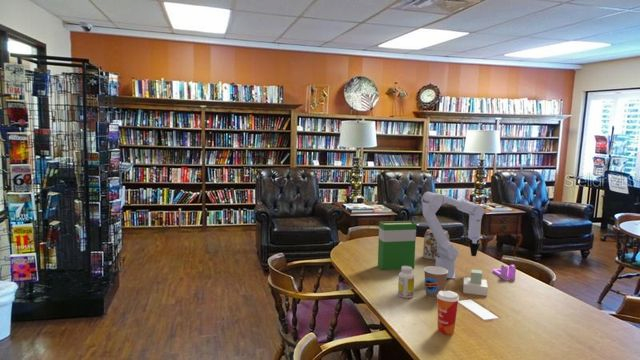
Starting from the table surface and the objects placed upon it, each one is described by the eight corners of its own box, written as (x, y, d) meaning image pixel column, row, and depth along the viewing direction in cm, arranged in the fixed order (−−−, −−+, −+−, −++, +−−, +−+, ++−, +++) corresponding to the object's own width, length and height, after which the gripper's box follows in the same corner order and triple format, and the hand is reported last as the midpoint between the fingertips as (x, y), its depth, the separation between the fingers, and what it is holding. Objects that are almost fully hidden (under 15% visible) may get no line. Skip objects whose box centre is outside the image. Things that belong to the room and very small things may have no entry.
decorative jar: (442, 262, 232) (444, 230, 230) (422, 258, 238) (424, 227, 236) (448, 256, 242) (450, 226, 240) (428, 253, 249) (430, 223, 246)
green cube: (470, 283, 189) (471, 272, 188) (470, 279, 193) (471, 269, 192) (481, 284, 187) (482, 273, 187) (480, 281, 192) (481, 270, 191)
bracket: (514, 279, 206) (515, 266, 206) (504, 280, 206) (505, 266, 205) (500, 271, 219) (501, 258, 218) (490, 271, 219) (491, 258, 218)
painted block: (463, 292, 188) (463, 284, 187) (463, 285, 197) (463, 277, 197) (487, 296, 184) (487, 287, 184) (486, 288, 194) (486, 279, 193)
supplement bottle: (414, 294, 185) (415, 266, 184) (412, 299, 179) (413, 270, 177) (399, 291, 187) (400, 264, 186) (396, 297, 181) (398, 268, 180)
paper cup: (431, 326, 155) (433, 289, 153) (452, 325, 155) (454, 289, 154) (439, 336, 147) (441, 298, 145) (460, 336, 147) (463, 298, 146)
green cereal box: (408, 264, 227) (410, 220, 225) (414, 268, 220) (416, 223, 217) (377, 265, 224) (379, 221, 221) (382, 270, 217) (384, 224, 214)
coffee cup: (417, 295, 184) (418, 269, 182) (431, 290, 190) (432, 264, 189) (437, 303, 176) (439, 275, 174) (451, 297, 182) (453, 270, 181)
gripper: (483, 231, 203) (482, 258, 204) (482, 225, 216) (481, 250, 218) (468, 230, 205) (467, 257, 207) (468, 224, 219) (466, 249, 220)
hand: (473, 253), depth 213 cm, fingers open, 7 cm apart
